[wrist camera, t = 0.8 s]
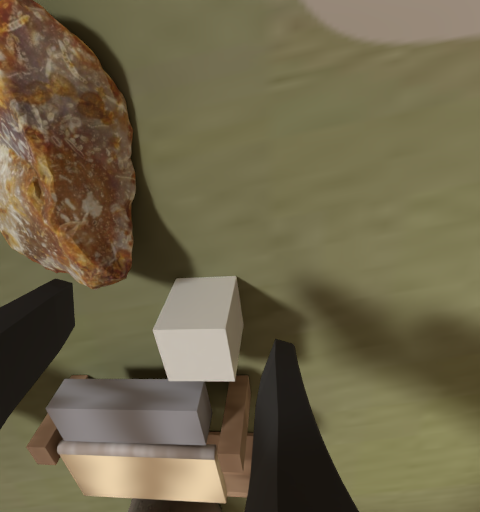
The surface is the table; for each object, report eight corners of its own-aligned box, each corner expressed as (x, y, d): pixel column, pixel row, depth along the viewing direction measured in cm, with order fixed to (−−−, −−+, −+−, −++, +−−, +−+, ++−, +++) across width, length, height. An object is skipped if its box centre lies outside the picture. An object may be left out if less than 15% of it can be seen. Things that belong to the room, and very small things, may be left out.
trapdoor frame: (119, 471, 37) (91, 543, 32) (71, 375, 30) (26, 446, 25) (264, 477, 35) (260, 556, 30) (248, 375, 28) (239, 454, 23)
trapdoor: (100, 459, 31) (84, 496, 28) (58, 378, 26) (34, 414, 23) (231, 464, 29) (225, 504, 27) (211, 379, 24) (203, 417, 22)
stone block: (187, 324, 26) (168, 381, 22) (176, 278, 24) (152, 330, 20) (243, 323, 26) (234, 381, 21) (236, 275, 24) (225, 328, 19)
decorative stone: (-7, 311, 21) (-171, 0, 15) (42, 276, 25) (-73, 19, 19) (150, 294, 19) (28, -72, 13) (175, 259, 23) (91, -34, 17)
